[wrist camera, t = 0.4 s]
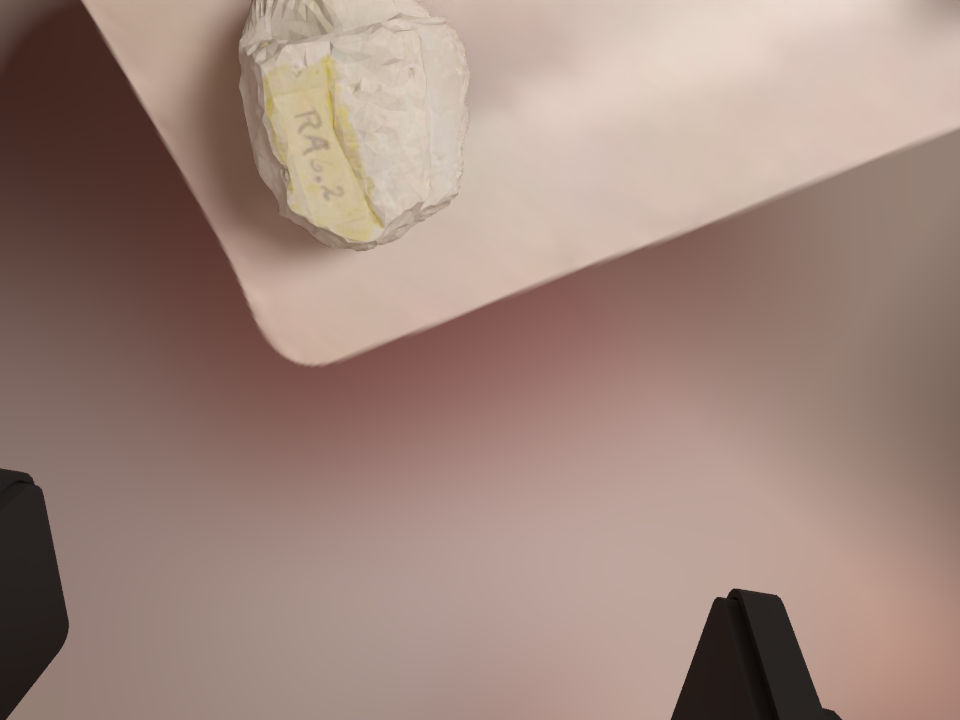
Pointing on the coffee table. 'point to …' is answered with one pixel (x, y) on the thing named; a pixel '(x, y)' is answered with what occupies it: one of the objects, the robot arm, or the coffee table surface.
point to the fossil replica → (354, 114)
